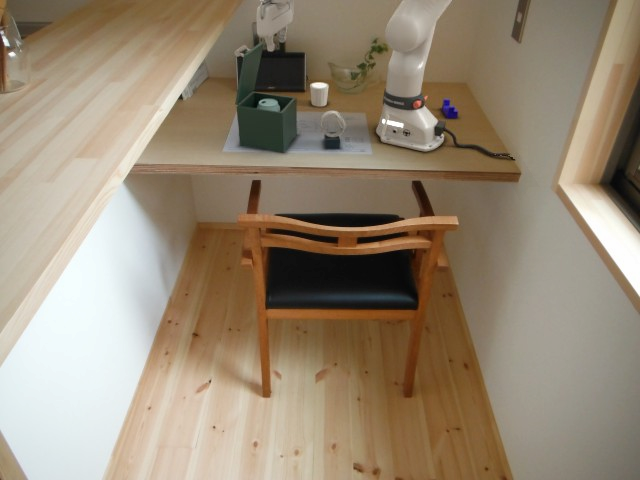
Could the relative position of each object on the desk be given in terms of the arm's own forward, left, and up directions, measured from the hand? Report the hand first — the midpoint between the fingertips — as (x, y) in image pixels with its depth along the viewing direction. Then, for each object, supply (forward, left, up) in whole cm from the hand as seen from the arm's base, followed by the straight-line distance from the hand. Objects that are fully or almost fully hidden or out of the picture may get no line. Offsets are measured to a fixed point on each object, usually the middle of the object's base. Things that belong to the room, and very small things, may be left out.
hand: (277, 46), depth 134 cm
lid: (+4, +7, -7) cm, 11 cm away
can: (-1, +6, -27) cm, 28 cm away
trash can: (0, +6, -28) cm, 28 cm away
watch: (-18, -5, -28) cm, 33 cm away
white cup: (+5, -29, -28) cm, 40 cm away
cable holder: (-37, -52, -28) cm, 69 cm away
